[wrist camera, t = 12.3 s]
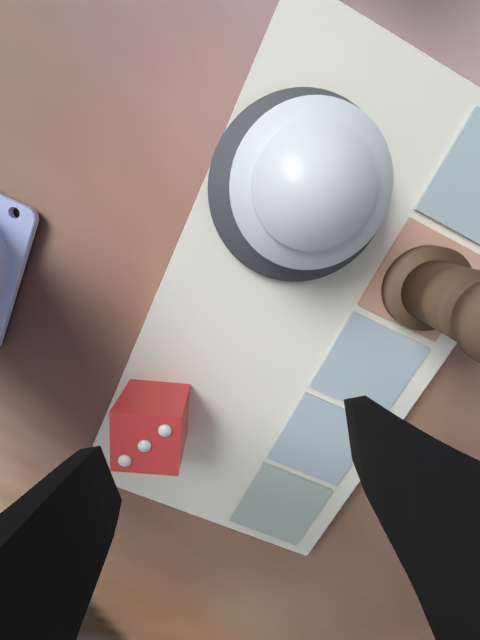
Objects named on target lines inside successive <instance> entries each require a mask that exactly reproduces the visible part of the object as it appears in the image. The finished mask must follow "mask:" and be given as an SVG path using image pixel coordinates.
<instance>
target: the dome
mask: <svg viewBox="0 0 480 640" xmlns="http://www.w3.org/2000/svg"><path fill="white" fill-rule="evenodd" d="M392 191H393V164H392V158H391V154H390V151H389V147H388V145H387V142H386V140H385V138H384V136H383V134H382V133H381V131H380V129H379V128H378V126H377V125H376V124H375V123H374V121H373V120H372V119H371V118H370V117H369V116H368V115H367V114H366V113H365V112H364V111H362V110H361V109H359V108H358V107H357V106H355V105H354V104H351V103H349V102H347V101H345V100H343V99H340V98H336V97H333V96H326V95H306V96H300V97H296V98H293V99H289V100H286V101H284V102H282V103H280V104H278V105H276V106H275V107H273V108H272V109H270V110H269V111H267V112H266V113H265V114H263V115H262V116H261V117H260V118H259V119H258V120H257V121H256V122H255V123H254V124H253V125H252V126H251V128H250V129H249V130H248V132H247V133H246V134H245V136H244V137H243V139H242V141H241V143H240V145H239V147H238V149H237V151H236V154H235V157H234V159H233V163H232V168H231V172H230V181H229V195H230V202H231V208H232V212H233V215H234V218H235V221H236V223H237V225H238V228H239V229H240V231H241V233H242V234H243V236H244V237H245V239H246V240H247V241H248V243H249V244H250V245H251V246H252V247H253V248H254V249H255V250H256V251H257V252H258V253H259V254H261V255H262V256H263V257H265V258H266V259H268V260H270V261H272V262H273V263H276V264H278V265H281V266H283V267H287V268H291V269H298V270H316V269H323V268H326V267H330V266H333V265H335V264H338V263H340V262H342V261H344V260H346V259H348V258H350V257H351V256H353V255H354V254H355V253H357V252H358V251H359V250H360V249H362V248H363V247H364V246H365V245H366V244H367V243H368V242H369V241H370V239H371V238H372V237H373V236H374V235H375V233H376V232H377V230H378V228H379V227H380V225H381V224H382V222H383V220H384V218H385V216H386V213H387V210H388V207H389V205H390V201H391V196H392Z"/></svg>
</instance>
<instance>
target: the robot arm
mask: <svg viewBox="0 0 480 640" xmlns="http://www.w3.org/2000/svg"><path fill="white" fill-rule="evenodd" d="M14 208H17V209H18V210H19V212H20V216H19V217H18V218H17V217H15V215H14V213H13V210H14ZM38 223H39V216H38V213H37V212H36V211H35V210H34V209H33V208H31V207H29V206H27V205H25V204H23V203H20V202H18V201H16V200H14V199H12V198H10V197H7V196H5V195H3V194H1V193H0V347H1V345H2V343H3V339H4V336H5V333H6V329H7V326H8V323H9V319H10V316H11V313H12V309H13V306H14V303H15V299H16V296H17V293H18V289H19V286H20V283H21V280H22V276H23V273H24V270H25V266H26V263H27V260H28V256H29V253H30V250H31V246H32V243H33V240H34V236H35V233H36V230H37V226H38ZM344 406H345V413H346V420H347V427H348V434H349V441H350V448H351V456H352V460H353V463H354V466H355V468H356V471H357V474H358V476H359V479H360V482H361V484H362V487H363V489H364V492H365V494H366V496H367V498H368V500H369V502H370V504H371V506H372V508H373V510H374V511H375V513H376V515H377V517H378V519H379V521H380V523H381V525H382V527H383V529H384V531H385V533H386V535H387V537H388V538H389V540H390V542H391V544H392V546H393V548H394V550H395V552H396V554H397V556H398V558H399V560H400V562H401V563H402V565H403V567H404V569H405V571H406V573H407V575H408V577H409V579H410V581H411V583H412V586H413V588H414V590H415V592H416V594H417V596H418V599H419V601H420V603H421V606H422V608H423V610H424V613H425V615H426V618H427V620H428V622H429V625H430V627H431V630H432V632H433V634H434V637H435V639H436V640H480V461H479V460H477V459H474V458H472V457H470V456H468V455H466V454H464V453H462V452H460V451H458V450H456V449H454V448H452V447H450V446H449V445H447V444H445V443H443V442H441V441H439V440H437V439H435V438H434V437H432V436H430V435H428V434H426V433H425V432H423V431H421V430H420V429H418V428H416V427H414V426H413V425H411V424H409V423H408V422H406V421H405V420H403V419H401V418H400V417H398V416H397V415H395V414H393V413H392V412H390V411H389V410H387V409H386V408H384V407H383V406H381V405H379V404H378V403H376V402H375V401H373V400H372V399H370V398H369V397H367V396H359V397H354V398H349V399H344ZM121 502H122V500H121V497H120V494H119V492H118V489H117V487H116V484H115V482H114V479H113V476H112V474H111V471H110V469H109V466H108V464H107V461H106V458H105V456H104V453H103V451H102V448H101V446H95V447H90V448H85V449H80V450H79V451H77V452H76V453H75V454H73V455H72V456H70V457H69V458H68V459H67V460H65V461H64V462H63V463H61V464H60V465H59V466H58V467H57V468H55V469H54V470H53V471H52V472H50V473H49V474H48V475H47V476H46V477H44V478H43V479H42V480H41V481H40V482H38V483H37V484H36V485H35V486H34V487H32V488H31V489H30V490H29V491H28V492H26V493H25V494H24V495H23V496H21V497H20V498H19V499H18V500H17V501H15V502H14V503H13V504H12V505H10V506H9V507H8V508H7V509H5V510H4V511H3V512H2V513H0V640H76V638H77V636H78V633H79V630H80V627H81V624H82V621H83V618H84V616H85V613H86V611H87V608H88V605H89V603H90V600H91V597H92V594H93V592H94V589H95V586H96V584H97V581H98V578H99V576H100V573H101V570H102V567H103V565H104V562H105V559H106V556H107V554H108V551H109V548H110V545H111V542H112V539H113V536H114V533H115V529H116V525H117V520H118V516H119V511H120V506H121Z"/></svg>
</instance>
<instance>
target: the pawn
mask: <svg viewBox="0 0 480 640" xmlns="http://www.w3.org/2000/svg"><path fill="white" fill-rule="evenodd" d="M381 296H382V301H383V304H384V307H385V309H386V310H387V312H388V313H389V314H390V315H391V316H392V317H393V318H394V319H395V320H397V321H398V322H400V323H401V324H402V325H404V326H406V327H408V328H410V329H413V330H418V331H431V330H437V331H439V332H441V333H442V334H444V335H446V336H447V337H449V338H451V339H452V340H454V341H456V342H457V344H458V345H459V347H460V348H461V349H462V350H463V351H464V352H465V353H466V354H467V355H468V356H470V357H471V358H472V359H474V360H476V361H477V362H479V363H480V270H477V269H473V268H472V267H471V265H470V263H469V262H468V260H467V259H466V258H465V257H464V256H463V255H462V254H460V253H459V252H457V251H455V250H453V249H450V248H446V247H441V246H435V245H423V246H418V247H415V248H412V249H410V250H408V251H406V252H404V253H403V254H401V255H400V256H399V257H398V258H396V259H395V260H394V262H393V263H392V264H391V265H390V267H389V268H388V270H387V271H386V273H385V276H384V278H383V282H382V287H381Z"/></svg>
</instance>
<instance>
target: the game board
mask: <svg viewBox="0 0 480 640" xmlns="http://www.w3.org/2000/svg"><path fill="white" fill-rule="evenodd" d="M306 95H326V96H333V97H336V98H340V99H343V100H345V101H347V102H349V103H351V104H354V105H355V106H357V107H358V108H359V109H361V110H362V111H364V112H365V113H366V114H367V115H368V116H369V117H370V118H371V119H372V120H373V121H374V123H375V124H376V125H377V126H378V128H379V129H380V131H381V133H382V134H383V136H384V138H385V140H386V142H387V145H388V147H389V151H390V154H391V158H392V164H393V191H392V196H391V201H390V205H389V207H388V210H387V213H386V216H385V218H384V220H383V222H382V224H381V225H380V227H379V228H378V230H377V232H376V233H375V235H374V236H373V237H372V238H371V239H370V241H369V242H368V243H367V244H366V245H365V246H364V247H363V248H362V249H360V250H359V251H358V252H357V253H355V254H354V255H353V256H351V257H350V258H348V259H346V260H344V261H342V262H340V263H338V264H335V265H333V266H330V267H326V268H323V269H316V270H298V269H291V268H287V267H283V266H281V265H278V264H276V263H273V262H272V261H270V260H268V259H266V258H265V257H263V256H262V255H261V254H259V253H258V252H257V251H256V250H255V249H254V248H253V247H252V246H251V245H250V244H249V243H248V241H247V240H246V239H245V237H244V236H243V234H242V233H241V231H240V229H239V228H238V225H237V223H236V221H235V218H234V215H233V212H232V208H231V202H230V195H229V181H230V172H231V168H232V163H233V159H234V157H235V154H236V151H237V149H238V147H239V145H240V143H241V141H242V139H243V137H244V136H245V134H246V133H247V132H248V130H249V129H250V128H251V126H252V125H253V124H254V123H255V122H256V121H257V120H258V119H259V118H260V117H261V116H262V115H263V114H265V113H266V112H267V111H269V110H270V109H272V108H273V107H275V106H276V105H278V104H280V103H282V102H284V101H286V100H289V99H293V98H296V97H300V96H306ZM423 245H435V246H441V247H446V248H450V249H453V250H455V251H457V252H459V253H460V254H462V255H463V256H464V257H465V258H466V259H467V260H468V262H469V263H470V265H471V267H472V268H473V269H477V270H480V87H478V86H476V85H475V84H473V83H472V82H470V81H468V80H467V79H465V78H463V77H462V76H460V75H459V74H457V73H455V72H454V71H452V70H450V69H449V68H447V67H446V66H444V65H442V64H441V63H439V62H438V61H436V60H434V59H433V58H431V57H429V56H428V55H426V54H425V53H423V52H421V51H420V50H418V49H417V48H415V47H413V46H412V45H410V44H408V43H407V42H405V41H404V40H402V39H400V38H399V37H397V36H396V35H394V34H392V33H391V32H389V31H387V30H386V29H384V28H383V27H381V26H379V25H378V24H376V23H374V22H373V21H371V20H370V19H368V18H366V17H365V16H363V15H362V14H360V13H358V12H357V11H355V10H353V9H352V8H350V7H349V6H347V5H345V4H344V3H342V2H341V1H339V0H280V1H279V3H278V5H277V8H276V10H275V12H274V15H273V17H272V20H271V22H270V24H269V27H268V29H267V31H266V34H265V36H264V39H263V41H262V43H261V46H260V48H259V51H258V53H257V55H256V58H255V60H254V62H253V65H252V67H251V70H250V72H249V74H248V77H247V79H246V82H245V84H244V86H243V89H242V91H241V93H240V96H239V98H238V101H237V103H236V105H235V108H234V110H233V112H232V115H231V117H230V120H229V122H228V124H227V127H226V129H225V132H224V134H223V135H222V137H221V139H220V141H219V143H218V145H217V147H216V149H215V152H214V155H213V158H212V161H211V165H210V167H209V170H208V172H207V174H206V177H205V179H204V182H203V184H202V186H201V189H200V191H199V193H198V196H197V198H196V201H195V203H194V205H193V208H192V210H191V213H190V215H189V217H188V220H187V222H186V224H185V227H184V229H183V232H182V234H181V236H180V239H179V241H178V244H177V246H176V248H175V251H174V253H173V255H172V258H171V260H170V263H169V265H168V267H167V270H166V272H165V274H164V277H163V279H162V282H161V284H160V286H159V289H158V291H157V294H156V296H155V298H154V301H153V303H152V305H151V308H150V310H149V313H148V315H147V317H146V320H145V322H144V325H143V327H142V329H141V332H140V334H139V336H138V339H137V341H136V344H135V346H134V348H133V351H132V353H131V355H130V358H129V360H128V363H127V365H126V367H125V370H124V372H123V375H122V377H121V379H120V382H119V384H118V386H117V389H116V391H115V394H114V396H113V398H112V401H111V403H110V406H109V408H108V410H107V413H106V415H105V417H104V420H103V422H102V425H101V427H100V429H99V432H98V434H97V436H96V439H95V441H94V444H93V446H92V447H95V446H101V448H102V451H103V453H104V456H105V458H106V461H107V464H108V466H109V469H110V425H109V412H110V410H111V408H112V407H113V405H114V404H115V402H116V401H117V399H118V397H119V396H120V394H121V393H122V391H123V389H124V388H125V386H126V385H127V383H128V381H129V380H130V379H136V380H148V381H160V382H172V383H184V384H190V398H189V414H188V429H187V438H186V443H185V447H184V452H183V456H182V461H181V465H180V470H179V474H178V476H168V475H155V474H141V473H128V472H114V471H111V474H112V476H113V479H114V482H115V484H116V487H118V488H121V489H124V490H127V491H129V492H132V493H135V494H138V495H140V496H143V497H146V498H149V499H151V500H154V501H157V502H160V503H162V504H165V505H168V506H171V507H173V508H176V509H179V510H181V511H184V512H187V513H190V514H192V515H195V516H198V517H201V518H203V519H206V520H209V521H212V522H214V523H217V524H220V525H223V526H225V527H228V528H231V529H234V530H236V531H239V532H242V533H245V534H247V535H250V536H253V537H256V538H258V539H261V540H264V541H266V542H269V543H272V544H275V545H277V546H280V547H283V548H286V549H288V550H291V551H294V552H297V553H299V554H302V555H305V556H307V555H308V554H309V552H310V551H311V550H312V548H313V547H314V545H315V544H316V543H317V541H318V540H319V538H320V537H321V535H322V534H323V533H324V531H325V530H326V528H327V527H328V526H329V524H330V523H331V521H332V520H333V518H334V517H335V516H336V514H337V513H338V511H339V510H340V509H341V507H342V506H343V504H344V503H345V501H346V500H347V499H348V497H349V496H350V494H351V493H352V492H353V490H354V489H355V487H356V486H357V484H358V483H359V482H360V479H359V476H358V474H357V471H356V468H355V466H354V463H353V460H352V456H351V448H350V441H349V434H348V427H347V420H346V413H345V406H344V399H349V398H354V397H359V396H367V397H369V398H370V399H372V400H373V401H375V402H376V403H378V404H379V405H381V406H383V407H384V408H386V409H387V410H389V411H390V412H392V413H393V414H395V415H397V416H398V417H400V418H401V419H404V418H405V416H406V415H407V414H408V412H409V411H410V409H411V408H412V406H413V405H414V404H415V402H416V401H417V399H418V398H419V397H420V395H421V394H422V392H423V391H424V389H425V388H426V387H427V385H428V384H429V382H430V381H431V380H432V378H433V377H434V375H435V374H436V372H437V371H438V370H439V368H440V367H441V365H442V364H443V363H444V361H445V360H446V358H447V357H448V355H449V354H450V353H451V351H452V350H453V348H454V347H455V346H456V344H457V342H456V341H454V340H452V339H451V338H449V337H447V336H446V335H444V334H442V333H441V332H439V331H437V330H431V331H418V330H413V329H410V328H408V327H406V326H404V325H402V324H401V323H400V322H398V321H397V320H395V319H394V318H393V317H392V316H391V315H390V314H389V313H388V312H387V310H386V309H385V307H384V304H383V301H382V296H381V287H382V282H383V278H384V276H385V273H386V271H387V270H388V268H389V267H390V265H391V264H392V263H393V262H394V260H395V259H396V258H398V257H399V256H400V255H401V254H403V253H404V252H406V251H408V250H410V249H412V248H415V247H418V246H423Z"/></svg>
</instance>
